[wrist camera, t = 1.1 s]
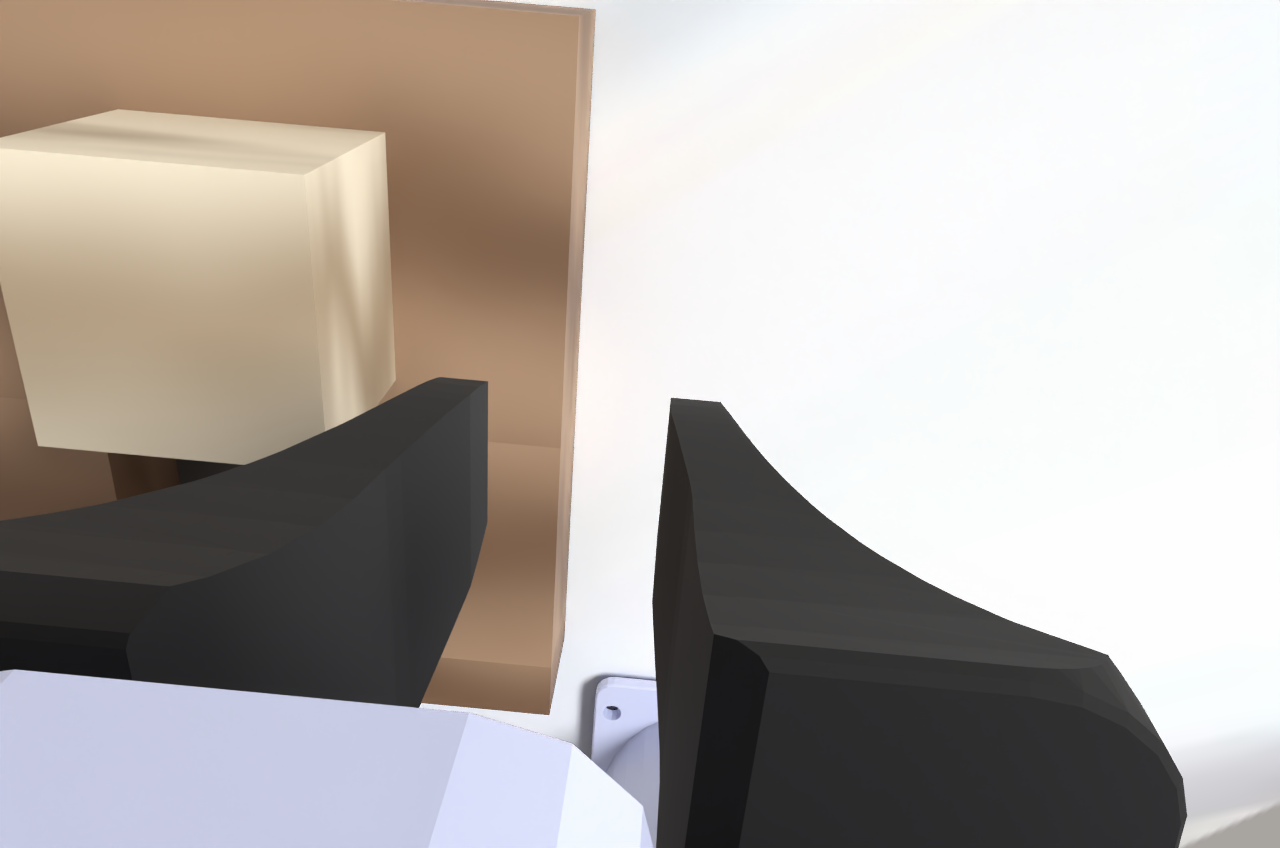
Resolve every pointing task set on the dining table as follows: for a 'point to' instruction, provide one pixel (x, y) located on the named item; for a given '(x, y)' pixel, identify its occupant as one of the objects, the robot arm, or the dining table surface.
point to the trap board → (419, 245)
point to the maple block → (196, 282)
